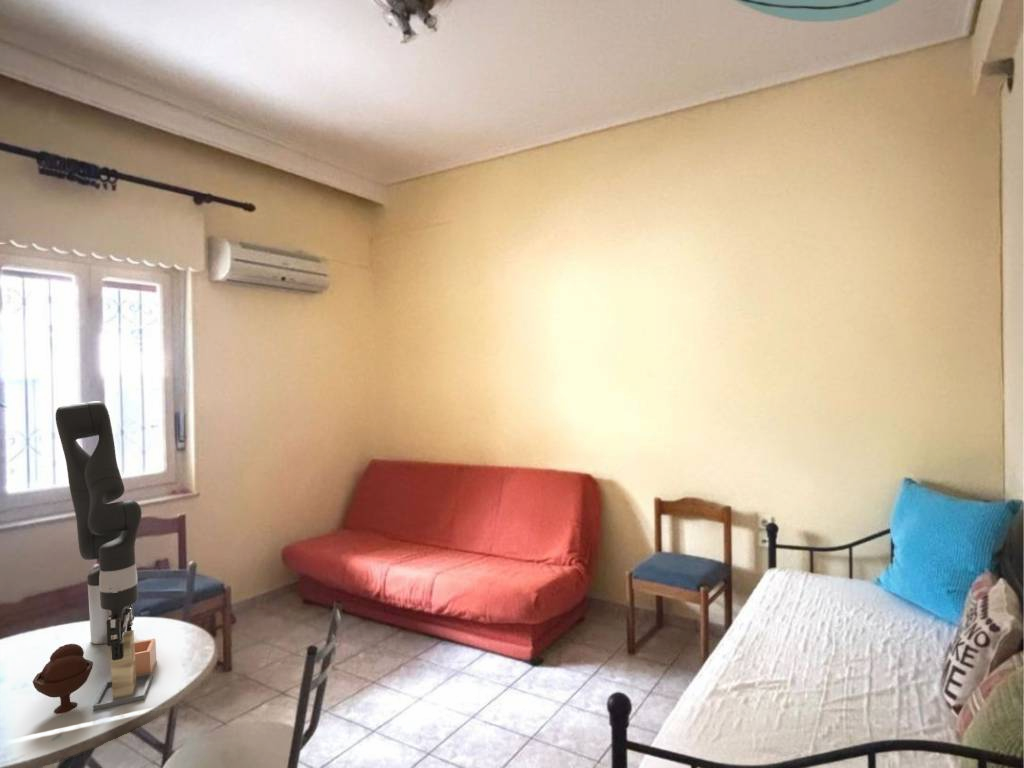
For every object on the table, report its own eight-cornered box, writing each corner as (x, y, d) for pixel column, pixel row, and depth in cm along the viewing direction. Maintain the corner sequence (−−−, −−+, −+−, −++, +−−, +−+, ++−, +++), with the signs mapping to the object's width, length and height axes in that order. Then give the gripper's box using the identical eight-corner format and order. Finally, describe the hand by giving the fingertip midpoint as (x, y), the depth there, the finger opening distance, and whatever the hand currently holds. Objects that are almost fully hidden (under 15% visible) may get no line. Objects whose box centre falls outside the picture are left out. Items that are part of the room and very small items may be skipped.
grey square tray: (106, 689, 141) (105, 681, 140) (153, 679, 144) (152, 672, 144) (93, 714, 130) (93, 706, 130) (144, 703, 134) (143, 695, 134)
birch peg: (117, 689, 139) (114, 633, 138) (136, 685, 140) (133, 630, 140) (112, 698, 135) (109, 640, 134) (132, 694, 136) (129, 637, 136)
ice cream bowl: (32, 712, 132) (28, 649, 131) (91, 691, 140) (88, 632, 139) (37, 732, 124) (33, 665, 124) (99, 709, 132) (95, 646, 132)
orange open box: (123, 670, 149) (121, 644, 149) (156, 663, 152) (155, 638, 152) (115, 685, 142) (114, 658, 142) (151, 678, 145) (149, 651, 145)
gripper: (108, 577, 141) (111, 641, 142) (91, 598, 128) (95, 668, 129) (143, 572, 144) (146, 634, 145) (130, 592, 131) (134, 661, 132)
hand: (122, 650), depth 137 cm, fingers open, 8 cm apart
